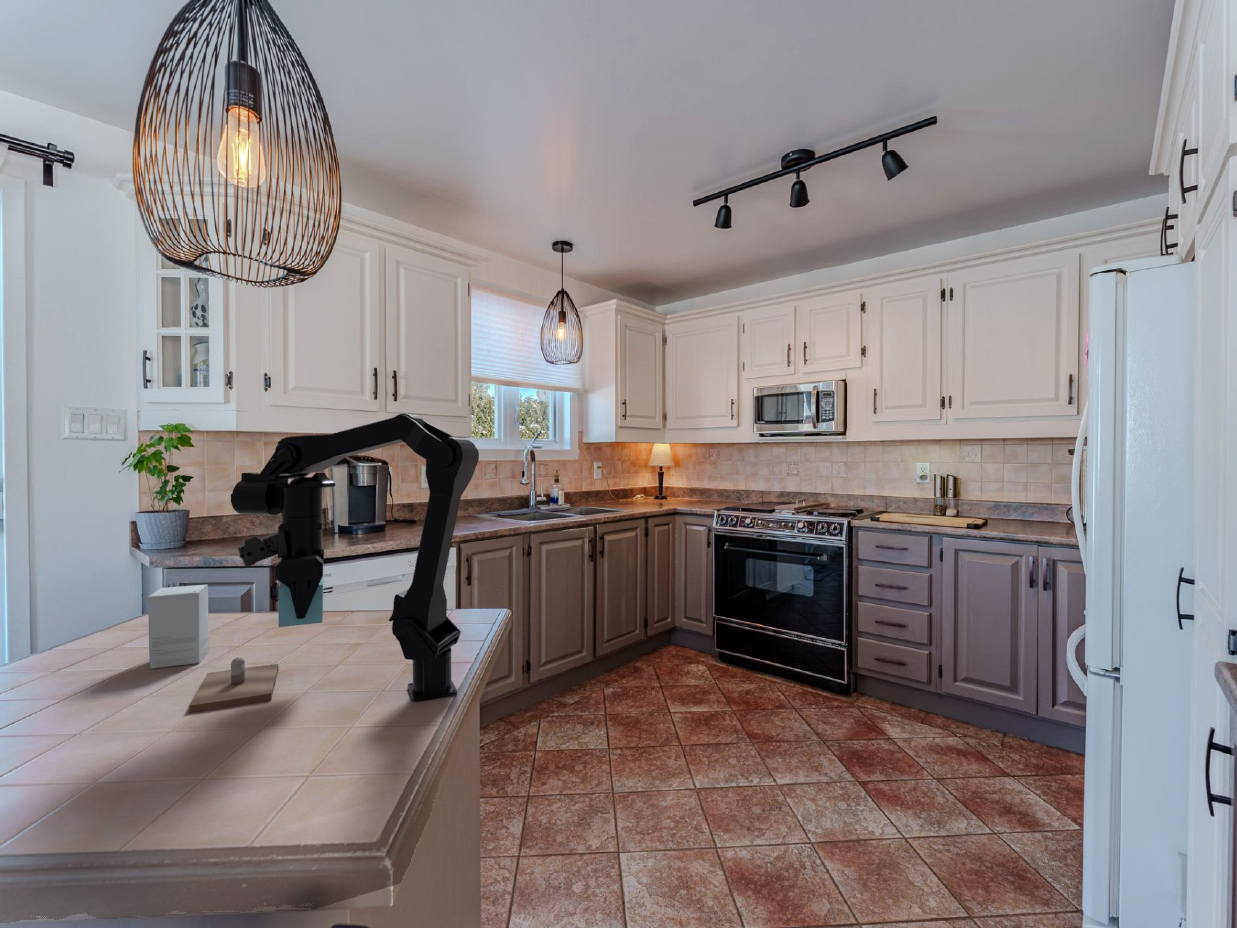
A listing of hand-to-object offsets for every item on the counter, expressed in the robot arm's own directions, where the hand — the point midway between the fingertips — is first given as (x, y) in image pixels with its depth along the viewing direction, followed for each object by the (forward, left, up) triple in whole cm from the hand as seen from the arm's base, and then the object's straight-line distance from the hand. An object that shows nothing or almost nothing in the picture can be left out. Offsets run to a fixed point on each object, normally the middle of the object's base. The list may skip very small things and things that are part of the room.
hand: (301, 613), depth 94 cm
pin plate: (+2, +9, -11) cm, 14 cm away
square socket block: (0, 0, -1) cm, 1 cm away
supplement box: (+22, +20, -11) cm, 32 cm away
